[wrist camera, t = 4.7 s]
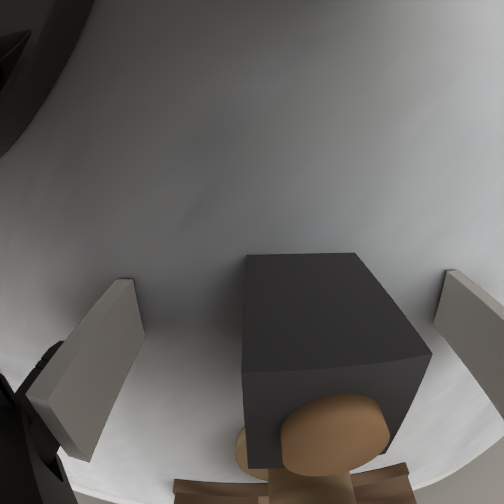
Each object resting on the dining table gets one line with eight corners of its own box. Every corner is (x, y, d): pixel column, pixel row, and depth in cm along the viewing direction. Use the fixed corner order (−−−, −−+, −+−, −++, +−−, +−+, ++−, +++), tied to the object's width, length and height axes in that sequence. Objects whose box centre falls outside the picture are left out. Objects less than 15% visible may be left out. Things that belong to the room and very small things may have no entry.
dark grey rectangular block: (249, 343, 12) (247, 492, 6) (246, 254, 11) (239, 404, 5) (342, 339, 12) (391, 474, 6) (354, 252, 11) (448, 377, 5)
